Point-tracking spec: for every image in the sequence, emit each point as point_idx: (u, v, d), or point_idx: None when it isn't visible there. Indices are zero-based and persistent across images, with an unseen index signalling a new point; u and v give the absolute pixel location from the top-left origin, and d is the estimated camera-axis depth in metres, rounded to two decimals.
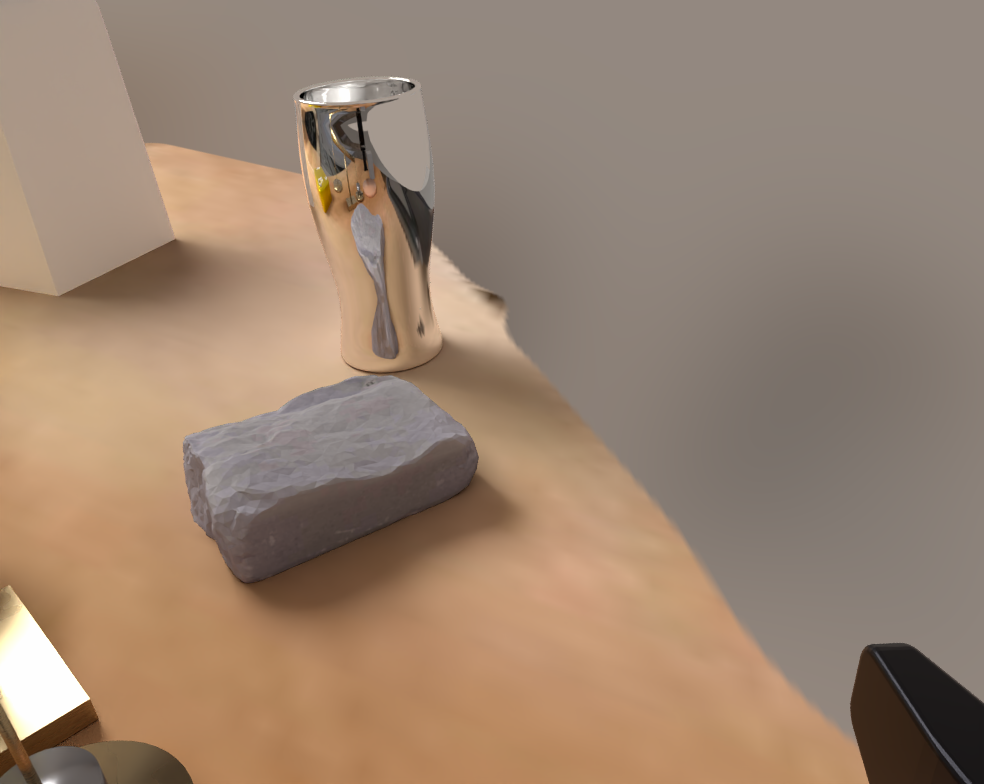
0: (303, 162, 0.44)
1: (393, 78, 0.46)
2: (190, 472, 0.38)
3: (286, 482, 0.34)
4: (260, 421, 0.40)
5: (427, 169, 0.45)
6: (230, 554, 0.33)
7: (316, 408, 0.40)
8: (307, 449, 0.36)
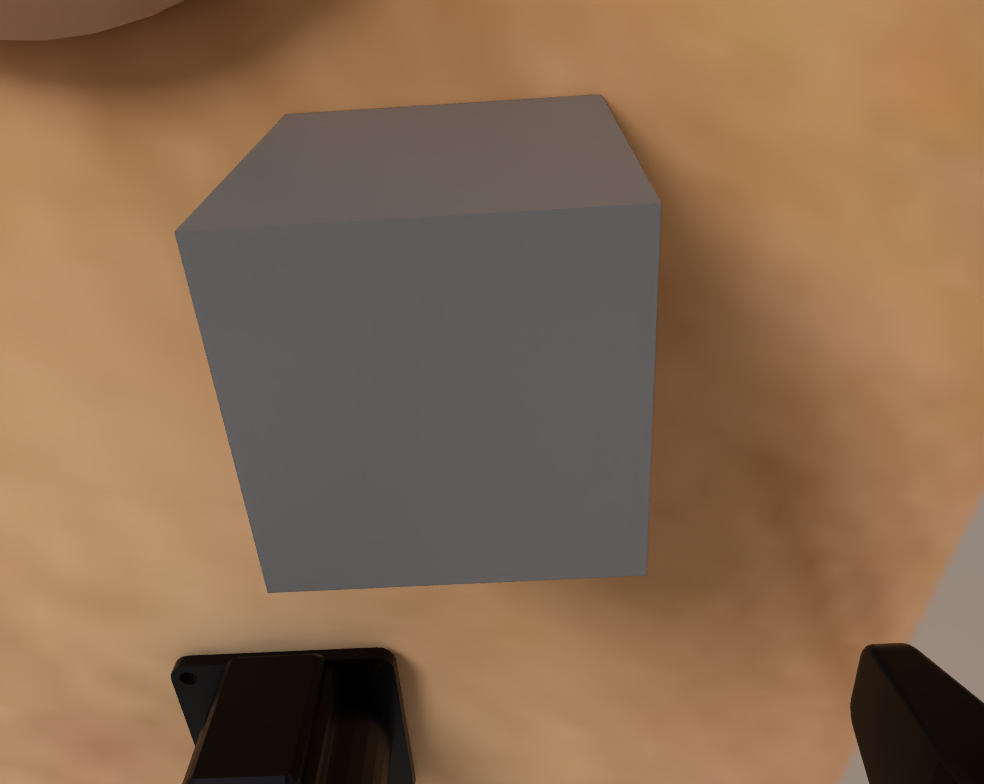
0: None
1: None
2: None
3: None
4: None
5: None
6: None
7: None
8: None
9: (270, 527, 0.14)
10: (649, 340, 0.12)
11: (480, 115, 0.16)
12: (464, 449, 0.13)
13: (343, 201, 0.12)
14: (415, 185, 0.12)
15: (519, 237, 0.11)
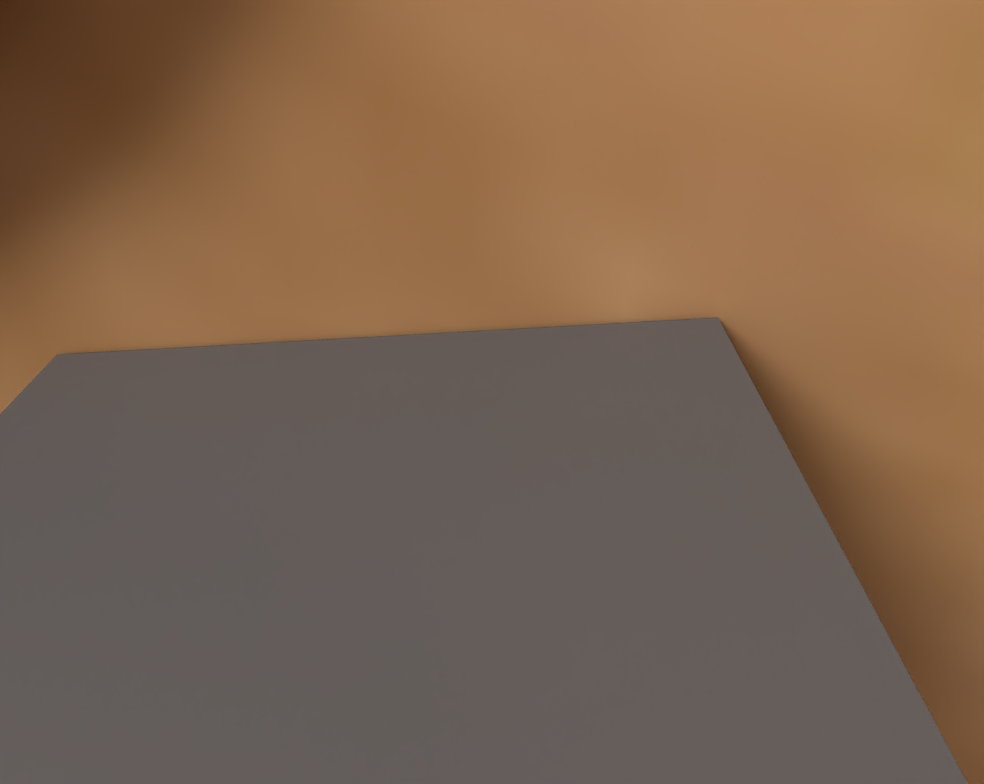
0: None
1: None
2: None
3: None
4: None
5: None
6: None
7: None
8: None
9: None
10: None
11: (460, 396, 0.07)
12: None
13: None
14: None
15: None
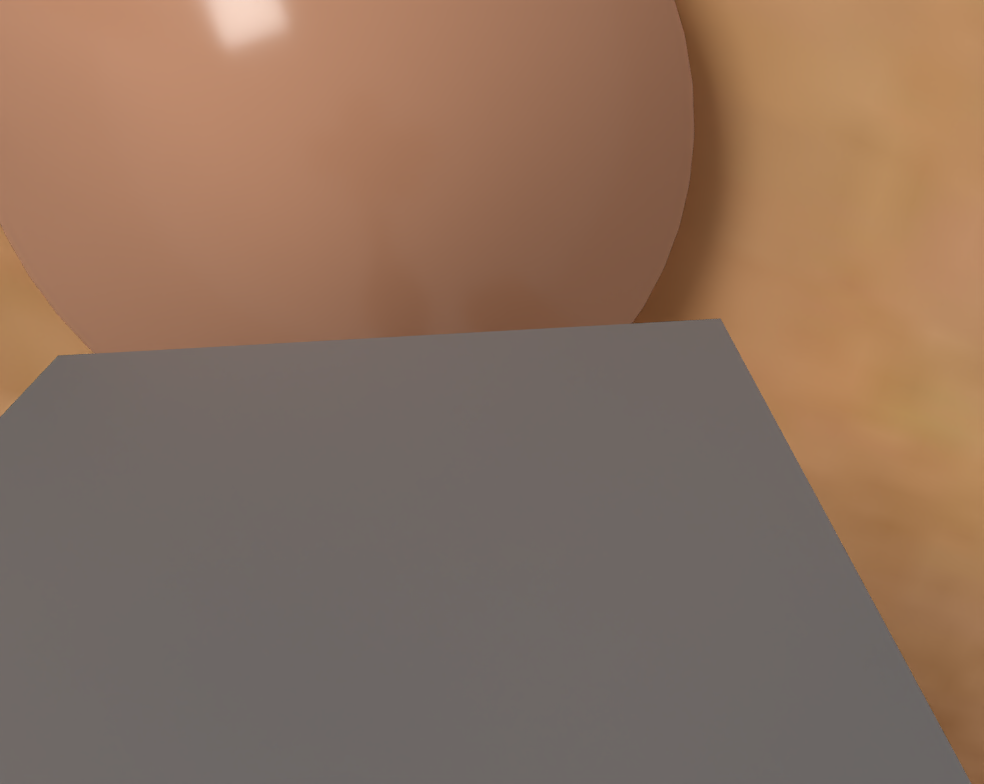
0: None
1: None
2: None
3: None
4: None
5: None
6: None
7: None
8: None
9: None
10: None
11: (463, 397, 0.07)
12: None
13: None
14: None
15: None
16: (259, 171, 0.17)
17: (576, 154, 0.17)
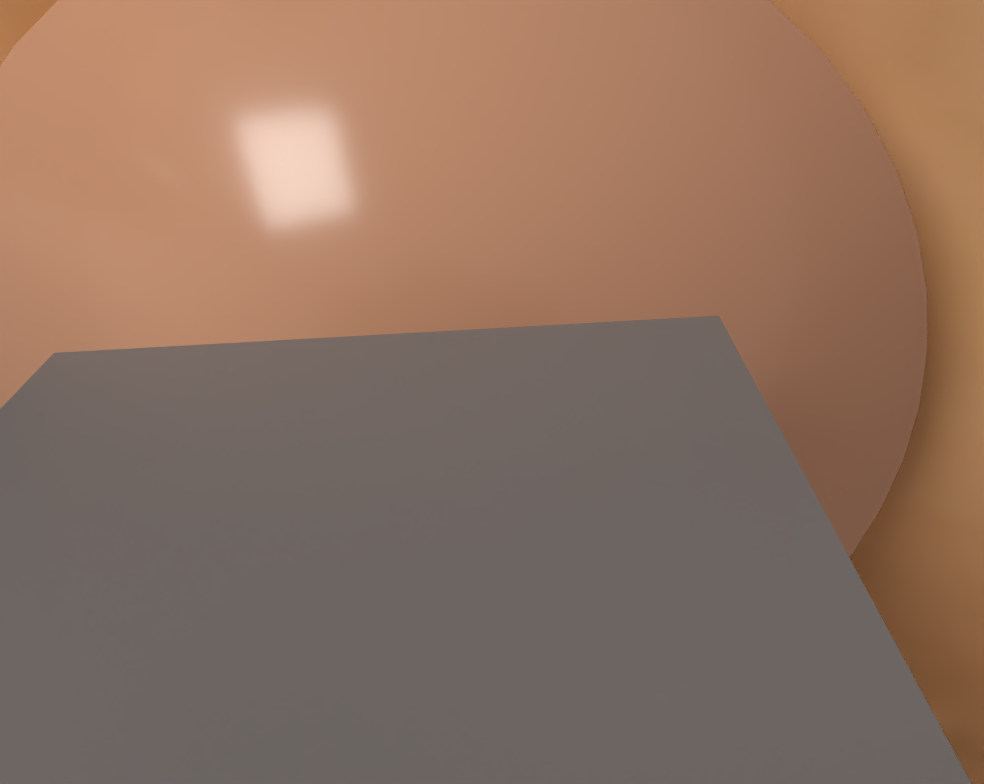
0: None
1: None
2: None
3: None
4: None
5: None
6: None
7: None
8: None
9: None
10: None
11: (460, 394, 0.07)
12: None
13: None
14: None
15: None
16: None
17: None
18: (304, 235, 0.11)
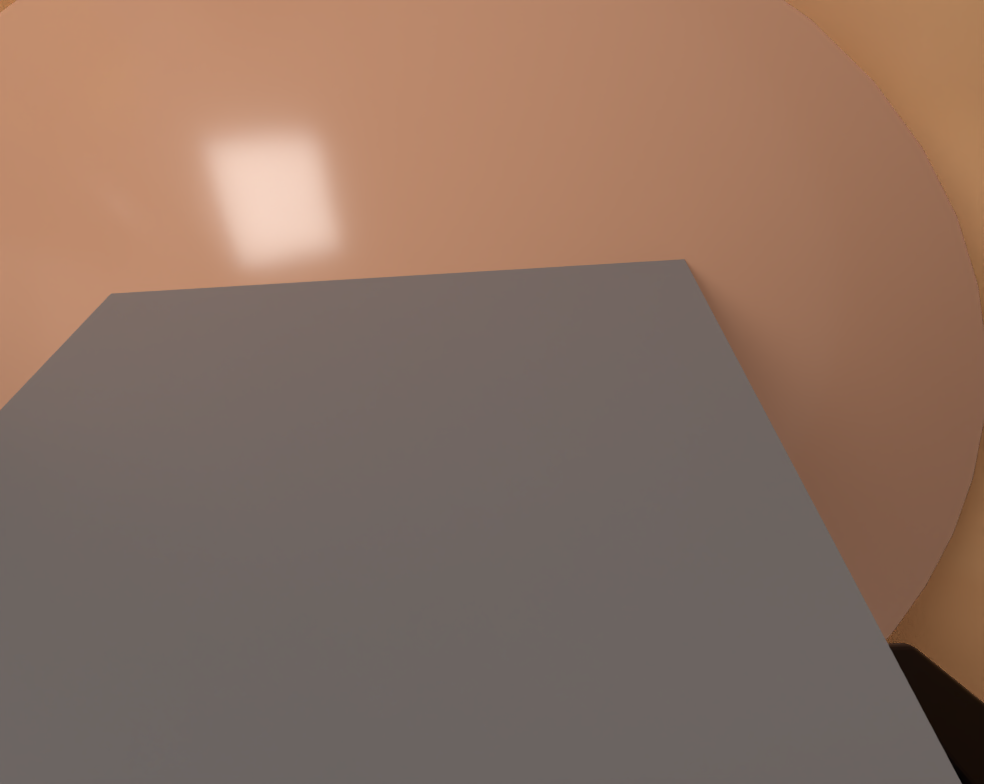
0: None
1: None
2: None
3: None
4: None
5: None
6: None
7: None
8: None
9: None
10: None
11: (461, 320, 0.08)
12: None
13: (55, 770, 0.04)
14: (274, 671, 0.05)
15: None
16: None
17: None
18: None
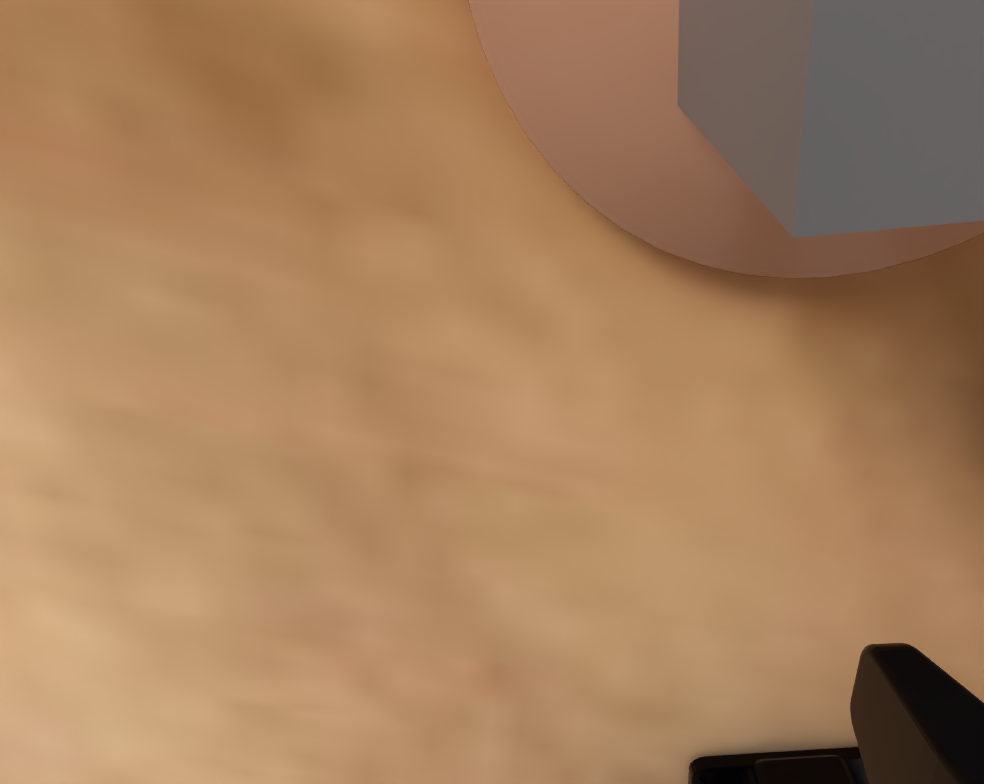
0: None
1: None
2: None
3: None
4: None
5: None
6: None
7: None
8: None
9: (833, 112, 0.09)
10: None
11: None
12: None
13: None
14: None
15: None
16: None
17: None
18: None
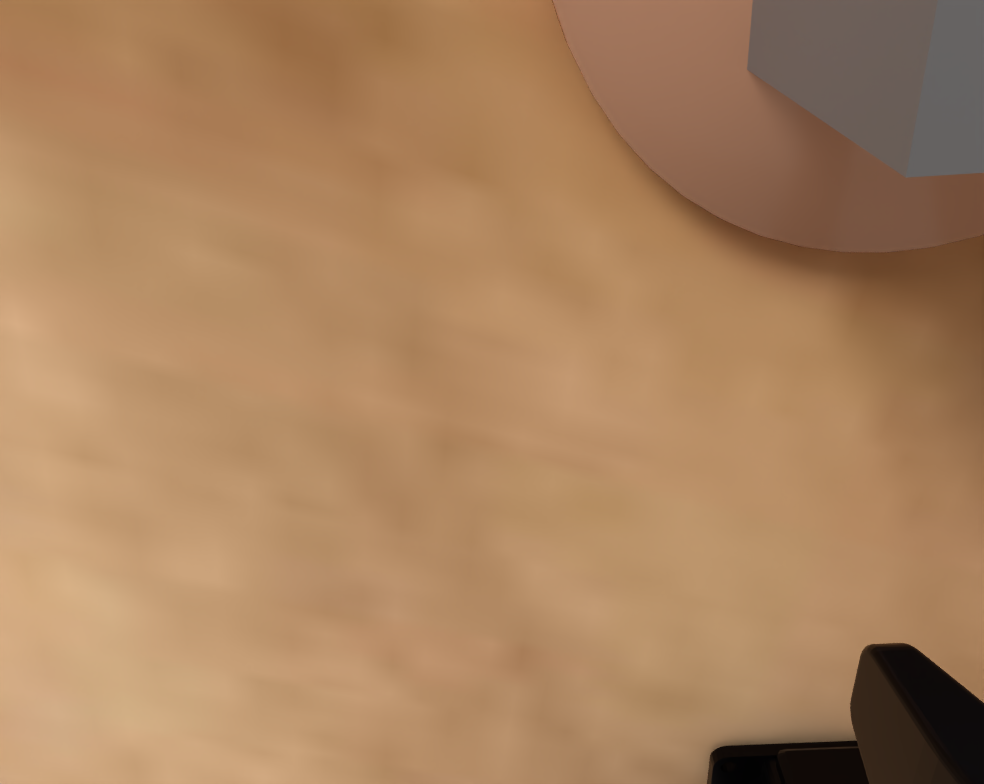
0: None
1: None
2: None
3: None
4: None
5: None
6: None
7: None
8: None
9: (959, 45, 0.09)
10: None
11: None
12: None
13: None
14: None
15: None
16: None
17: None
18: None
